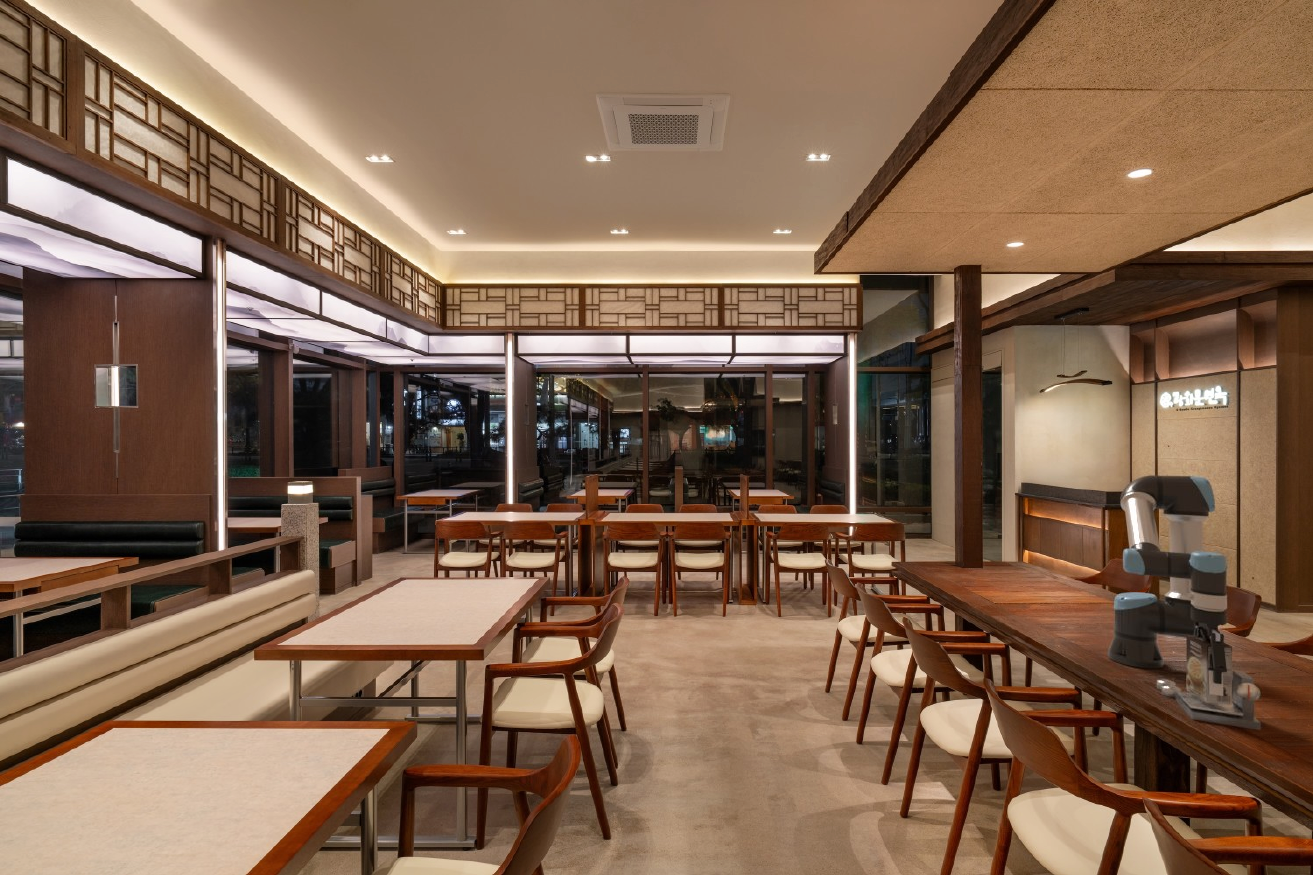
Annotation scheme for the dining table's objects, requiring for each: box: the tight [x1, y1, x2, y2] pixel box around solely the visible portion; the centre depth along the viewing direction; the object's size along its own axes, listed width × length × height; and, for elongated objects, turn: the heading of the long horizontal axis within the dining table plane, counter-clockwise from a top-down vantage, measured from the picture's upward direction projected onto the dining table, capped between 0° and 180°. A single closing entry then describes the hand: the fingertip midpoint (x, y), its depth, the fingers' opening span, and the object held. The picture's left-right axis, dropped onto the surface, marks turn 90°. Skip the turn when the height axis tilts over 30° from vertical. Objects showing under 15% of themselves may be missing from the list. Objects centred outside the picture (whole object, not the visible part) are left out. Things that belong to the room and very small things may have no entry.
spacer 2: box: [1161, 684, 1182, 699], centre depth 182 cm, size 4×4×2 cm
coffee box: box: [1185, 635, 1233, 705], centre depth 170 cm, size 9×6×16 cm
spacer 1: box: [1156, 678, 1176, 691], centre depth 187 cm, size 4×4×2 cm
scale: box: [1175, 670, 1262, 731], centre depth 169 cm, size 14×15×12 cm
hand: (1208, 687), depth 170 cm, fingers closed on coffee box, 10 cm apart
